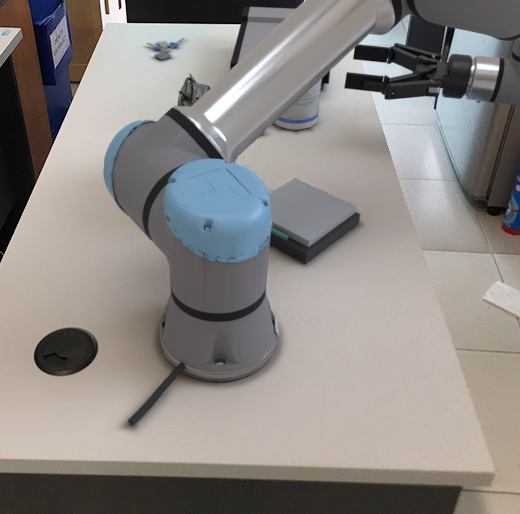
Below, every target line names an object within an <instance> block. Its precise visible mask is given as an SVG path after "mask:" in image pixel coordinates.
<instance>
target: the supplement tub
mask: <svg viewBox="0 0 520 514" xmlns="http://www.w3.org/2000/svg"><path fill="white" fill-rule="evenodd" d="M321 82H322V79H320V80H319V81H318V82H317V83H316V84H315V85H314V86H313V87H312V88H311V89H310V90H309V91H308V92H307V93H305V94H304V95H303V96H302V97H301V98H300V99H299V100H298V101H297V102H296V103H295V104H294V105H293V106H292V107H290V108H289V109H288V110H287V111H286V112H285V113H284V114H283V115H282V116H281V117H280V118H279V119H278V120H277V121H275V122H274V123H273V124H275V125H276V126H278V127H279V128H284V129H285V130H293V131H296V130H297V131H298V130H306V129H308V128H310V127H312V126H314V125H315V124H316V123H317V122H318V119H319V113H320V112H319V111H320V103H321V102H320V101H321V91H322V90H321Z"/></svg>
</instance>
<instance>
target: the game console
mask: <svg viewBox="0 0 520 514" xmlns="http://www.w3.org/2000/svg"><path fill="white" fill-rule="evenodd" d="M295 9H296V8H287V7H286V8H285V7H265V6H264V7H263V6H261V7H260V6H244V7H243V10H242V14H241V22H240V26H239V29H238V34H237V37H236V41H235V45H234V49H233V52H232V55H231V58H230V59H231V60H230V63H229V64H230V66H229V67H230V68H229V71H230V70H231V69H232V68H233V67H234V66H235V65H236V64H237V63H238V62H239V61H240V60H242V59H243V58H244V57H245V56H246V55H247V54H248V53H249V52H250V51H251V50H252V49H253V48H254V47H256V46H257V45H258V44H259V43H260V42H261V41H262V40H263V39H264V38H265V37H266V36H267V35H268V34H270V33H271V32H272V31H273V30H274V29H275V28H276V27H277V26H278V25H279V24H280V23H281V22H282V21H283V20H285V19H286V18H287V17H288V16H289V15H290V14H291V13H292V12H293V11H294V10H295ZM330 74H331V70H330V71H329V72H328V73H327V74H326V75H325V76H324V77H323V78H322V82H321V91H323V88H324V85H329V83H330V76H331V75H330Z"/></svg>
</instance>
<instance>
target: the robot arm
mask: <svg viewBox="0 0 520 514" xmlns="http://www.w3.org/2000/svg"><path fill="white" fill-rule="evenodd" d="M294 9H295V10H294V11H293V12H292V13H291V14H290V15H289V16H288V17H287V18H286V19H285V20H283V21H282V22H281V23H280V24H279V25H278V26H277V27H276V28H275V29H274V30H273V31H272V32H271V33H270V34H268V35H267V36H266V37H265V38H264V39H263V40H262V41H261V42H260V43H259V44H258V45H257V46H256V47H254V48H253V49H252V50H251V51H250V52H249V53H248V54H247V55H246V56H245V57H244V58H243V59H242V60H240V61H239V62H238V63H237V64H236V65H235V66H234V67H233V68H232V69H231V70H230V69H229V71H227V72H226V73H225V74H224V75H223V76H222V77H221V78H220V79H218V81H217V82H216V83H214V84H213V85H212V86H210V89H209V90H208V91H207V92H206V93H205V94H204V95H203V96H202V97H201V98H200V99H199V100H198V101H196V102H195V103H194V104H193V105H192V106H189V107H186V106H177V105H173V106H172V107H171V108H169V109H168V110H167V111H166V112H165V113H164V114H163V115H162V116H161V117H160V118H159V119H157V120H153V119H145V120H141V119H138V120H135V121H132V122H130V123H128V124H127V125H125V126H124V127H122V128H121V129H120V130H119V131H118V132H117V133H116V134H115V135H114V136H113V139H112V140H111V141H110V143H109V144H108V148H107V149H106V151H105V155H104V158H103V171H102V174H103V180H104V184H105V187H106V189H107V191H108V193H109V194H110V196H111V198H112V199H113V200H114V202H115V204H116V206H117V207H118V208H119V210H121V211H122V213H124V214H125V215H126V216H127V217H129V218H130V220H131V221H133V223H134V224H135V225H136V226H137V227H138V228H139V229H140V231H142V232H143V234H144V235H145V236H146V237H147V238H148V239H149V240H150V241H151V242H152V243H153V244H154V245H155V246H156V247H157V248H158V250H160V251H161V253H162V254H163V255H164V256H165V258H166V260H167V262H168V269H169V283H170V285H169V286H170V295H169V298H168V301H167V304H166V306H165V309H164V312H163V314H162V318H161V319H160V324H159V340H160V347H161V351H162V353H163V355H164V357H165V358H166V360H167V362H168V363H169V364H170V365H171V366H172V367H173V370H171V372H170V373H169V375H167V377H166V378H165V379H164V380H163V381H162V382H161V383H160V384H159V386H158V387H156V389H155V390H154V391H153V392H152V394H151V395H150V396H149V397H148V399H146V401H145V402H144V403H143V404H142V405H141V407H139V408H138V409H137V410H136V411H135V413H133V414H132V415H131V416H130V417H129V418H128V419H127V422H128V424H129V425H131V426H133V427H134V426H135V425H136V424H137V423H138V422H139V421H140V420H141V419H142V418H143V417H144V416H145V415H146V414H147V413H148V412H149V411H150V409H151V408H152V407H153V406H154V405H155V404H156V402H157V401H159V399H160V398H161V396H162V395H163V394H164V393H165V392H166V390H167V389H168V388H169V387H170V386H171V385H172V383H174V381H175V380H176V379H177V378H178V377H179V376H180V375H181V373H182V374H184V375H186V376H189V377H191V378H193V379H197V380H201V381H206V382H215V383H217V382H218V383H219V382H220V383H221V382H230V381H236V380H240V379H244V378H246V377H249V376H251V375H253V374H255V373H256V372H258V371H259V370H261V369H262V368H263V367H264V366H266V365H267V363H269V362H270V360H271V358H272V357H273V355H274V353H275V351H276V347H277V341H278V337H280V329H279V328H280V327H279V318H278V316H277V314H276V312H275V311H273V310H272V307H271V303H270V301H269V297H268V295H267V282H268V281H267V280H268V269H269V258H270V248H271V245H270V236H271V230H272V215H271V201H270V196H269V194H270V193H269V190H268V188H267V186H266V184H265V183H264V181H263V180H262V178H260V176H258V175H257V174H256V172H253V171H252V170H251V169H249V168H248V167H246V166H244V165H242V164H239V163H237V158H238V157H239V156H240V155H241V154H243V153H244V152H245V151H246V150H247V149H248V148H249V147H250V146H251V145H252V144H253V143H254V142H255V141H256V140H258V138H259V137H261V136H263V135H262V134H263V133H264V134H265V132H266V131H267V130H268V129H269V128H270V127H272V125H274V124H275V123H274V122H275V121H277V120H278V119H279V118H280V117H281V116H282V115H283V114H284V113H285V112H286V111H287V110H288V109H289V108H290V107H292V106H293V105H294V104H295V103H296V102H297V101H298V100H299V99H300V98H301V97H302V96H303V95H304V94H305V93H307V92H308V91H309V90H310V89H311V88H312V87H313V86H314V85H315V84H316V83H317V82H318V81H319V80H320V79H322V78H323V77H324V76H325V75H326V74H327V73H328V72H329V71H330V72H331V71H332V69H333V68H335V67H336V66H337V65H338V64H339V63H340V62H341V61H342V60H343V59H344V58H346V56H348V55H349V54H350V53H351V52H352V51H353V57H352V60H355V61H364V62H365V61H366V62H375V63H384V64H387V65H391V64H395V65H397V66H400V67H401V68H404V69H406V70H408V71H411V73H406V74H401V75H397V76H392V77H389V76H388V75H386V74H384V75H378V74H377V75H376V74H368V73H359V72H358V73H357V72H351V71H350V72H349V71H347V72H346V75H345V81H344V89H346V90H355V91H364V92H372V93H373V92H374V93H380V94H381V95H383V99H384V100H387V101H392V100H401V99H411V98H413V99H414V98H422V97H429V98H438V97H439V96H440V92H441V97H443V98H446V99H447V98H448V99H455V100H461V99H463V98H465V99H466V101H467V100H468V101H475V102H476V103H477V104H480V103H482V102H485V103H495V104H497V103H498V104H502V105H504V104H505V105H511V106H518V107H520V0H304V1H303V2H301V3H300V5H298V6H297V7H296V8H294ZM410 15H411V16H413V17H416V18H418V19H421V20H424V21H426V22H429V23H432V24H435V25H440V26H443V27H447V28H450V29H451V28H452V29H455V30H456V29H457V30H462V31H466V32H471V33H476V34H479V35H480V34H481V35H484V36H485V35H486V36H488V37H491V38H494V39H495V40H499V41H503V42H504V41H505V42H513V41H515V43H514V45H513V48H512V52H511V55H510V57H509V58H502V57H494V56H485V55H476V56H475V57H474V58H473V57H472V56H471V55H470V54H461V53H451V54H450V56H449V57H448V60H447V62H445V61H442V60H443V57H444V56H443V54H442V53H438V52H431V51H427V50H424V49H420V48H417V47H413V46H410V45H406V44H403V43H399V42H394V44H393V45H391V46H380V45H379V46H378V45H371V44H369V45H368V44H360V43H361V42H363V40H365V38H367V37H368V36H369V35H375V36H384V35H387V34H388V33H390V32H391V31H392V30H393V29H394V28H395V27H396V26H397V25H398V24H399V23H400V22H401V21H403V20H404V19H405V18H406V17H407V16H410ZM464 96H465V97H464ZM273 312H274V313H273Z"/></svg>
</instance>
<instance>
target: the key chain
mask: <svg viewBox="0 0 520 514" xmlns="http://www.w3.org/2000/svg"><path fill="white" fill-rule="evenodd" d="M184 40H185V37H182V38H180V39H179V40H177V41H176V42H173V41H171V42H169V44H168V43H166V42H165V41H156V44H158V45H156V44H154V43H150V42H146V45H148V46H151V47H152V49H155V50H160V51H161V52H159V53H156V54H154V57H156V58H158V59H159V60H165V59H169V58H172V57H173V55H172V54H170V53H168V52H170V51H171V49H173V48H179V47H180V44H179V43H181V42H182V41H184ZM170 46H171V47H170Z"/></svg>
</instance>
